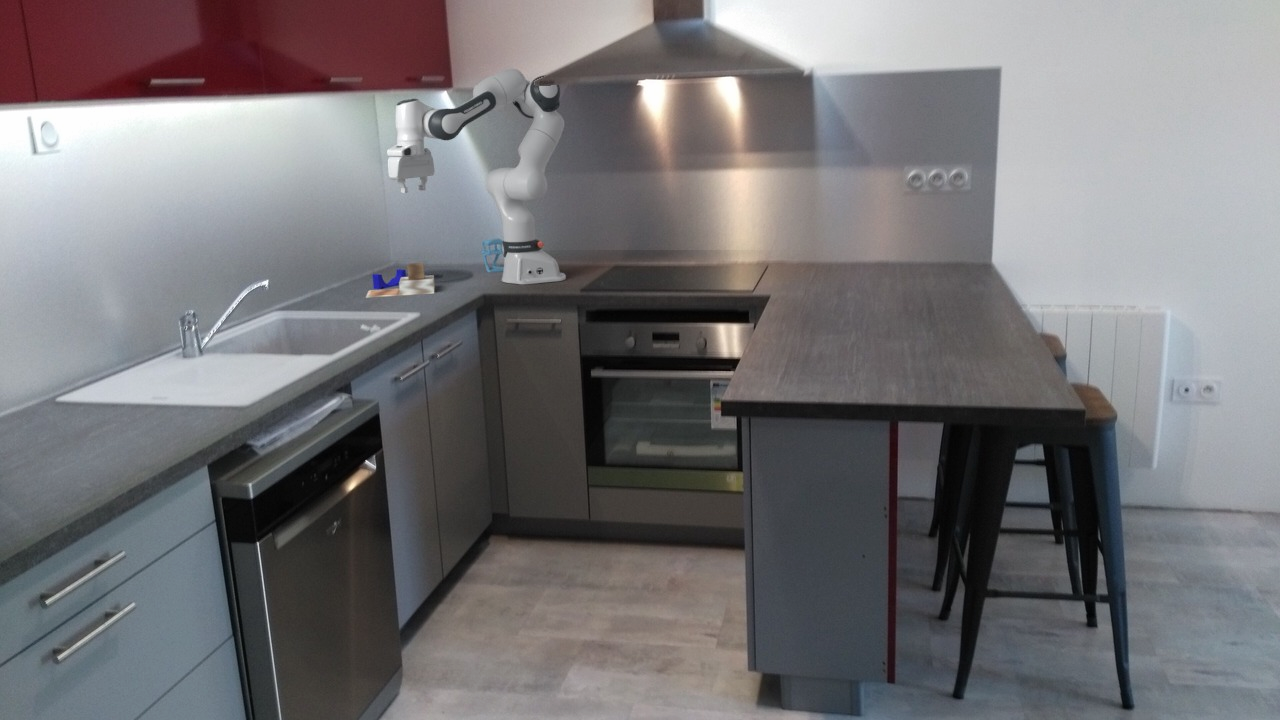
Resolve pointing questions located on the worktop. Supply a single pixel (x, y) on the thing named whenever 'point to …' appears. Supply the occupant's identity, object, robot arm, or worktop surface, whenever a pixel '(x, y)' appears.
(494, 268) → the chair
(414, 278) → the plug
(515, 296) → the worktop surface
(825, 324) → the worktop surface
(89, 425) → the worktop surface
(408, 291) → the board
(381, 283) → the cable clip
